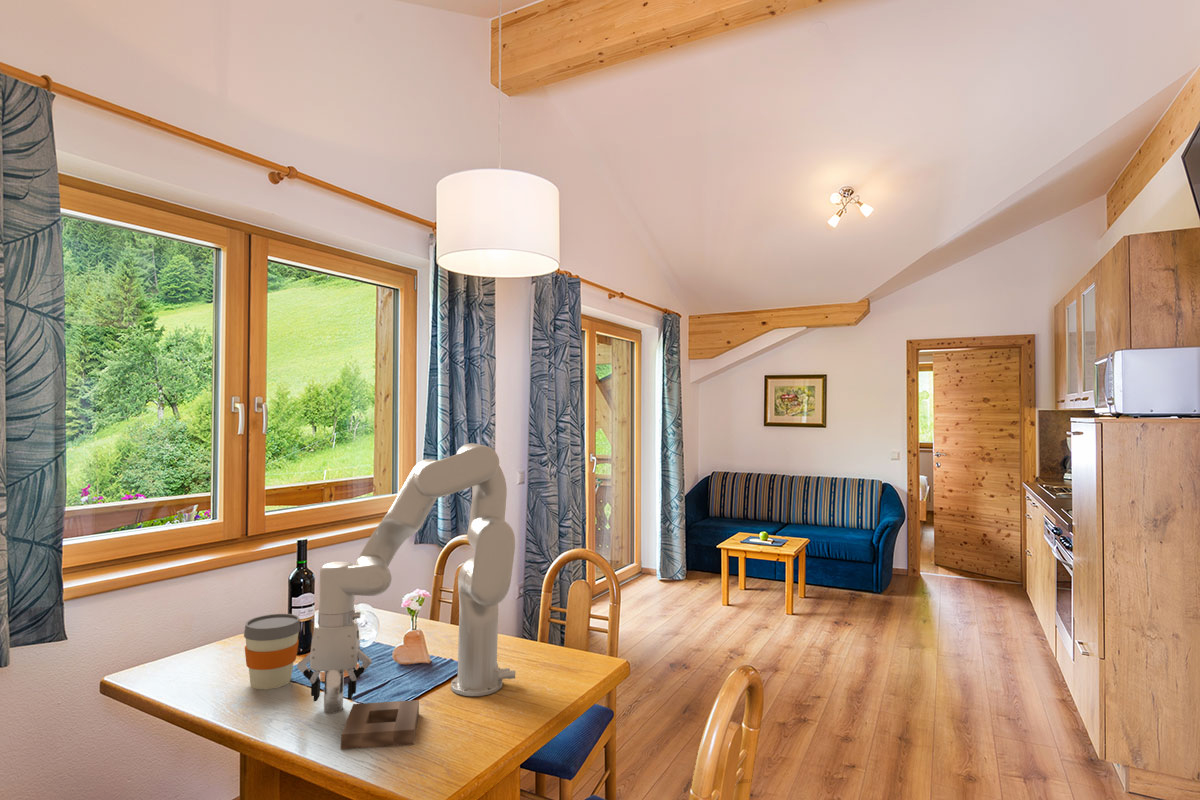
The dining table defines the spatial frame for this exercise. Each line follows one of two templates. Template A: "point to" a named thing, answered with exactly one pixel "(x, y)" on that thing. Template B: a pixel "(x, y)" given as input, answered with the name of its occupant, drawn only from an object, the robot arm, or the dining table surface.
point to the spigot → (333, 691)
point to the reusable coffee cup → (271, 649)
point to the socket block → (380, 724)
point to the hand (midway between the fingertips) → (333, 697)
